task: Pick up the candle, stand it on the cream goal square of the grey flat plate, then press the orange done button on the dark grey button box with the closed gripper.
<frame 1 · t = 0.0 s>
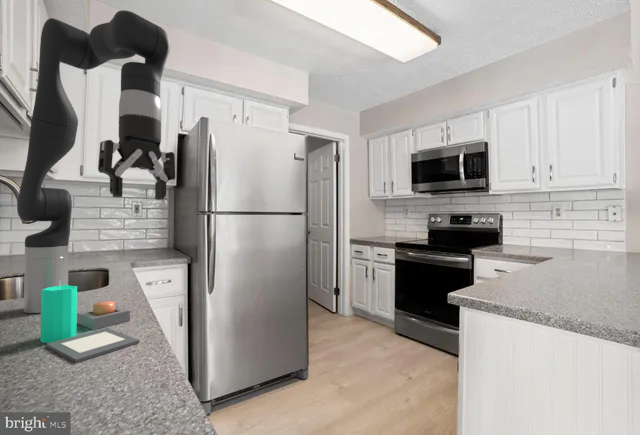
hand: (139, 198, 66), 29 cm above the countertop, fingers open, 8 cm apart
candle: (59, 338, 68), on the countertop
grey flat plate: (93, 344, 65), on the countertop
done button: (103, 309, 79), point 3 cm above the countertop, slide at 0.0 cm
button box: (103, 322, 78), on the countertop
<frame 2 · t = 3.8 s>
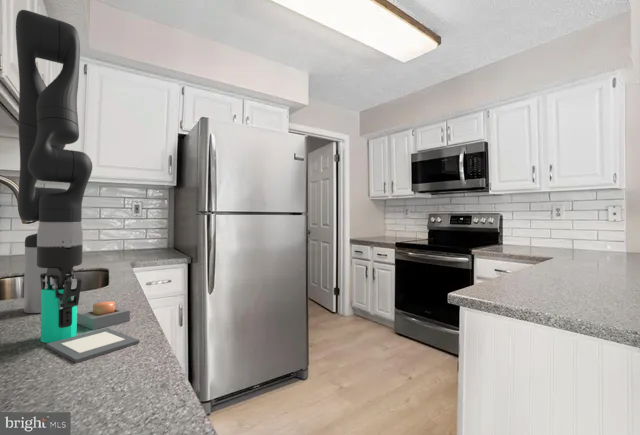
hand: (59, 323, 68), 3 cm above the countertop, fingers closed on candle, 4 cm apart
candle: (59, 338, 68), on the countertop, touching gripper
everything else where it was.
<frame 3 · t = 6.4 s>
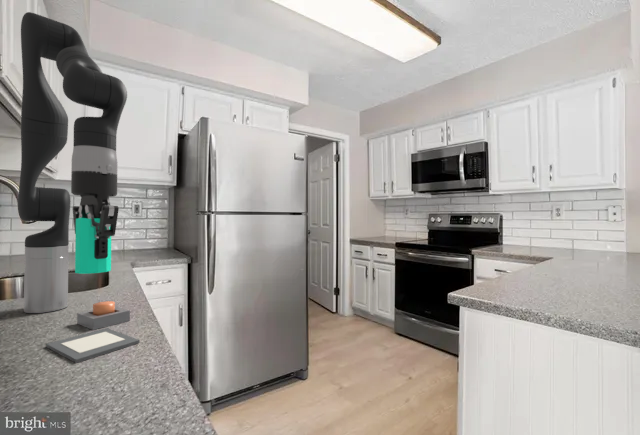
hand: (94, 257, 65), 17 cm above the countertop, fingers closed on candle, 4 cm apart
candle: (93, 272, 65), point 14 cm above the countertop, touching gripper
everything else where it was.
when the fingers open (5 cm above the countertop, at t = 9.1 s): candle drops 1 cm, resting on grey flat plate.
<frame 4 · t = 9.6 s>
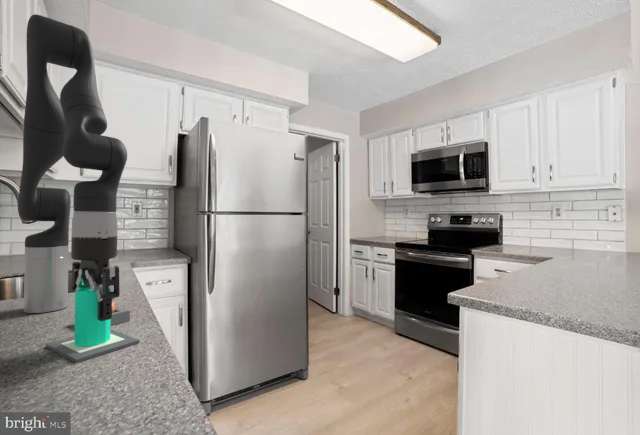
hand: (94, 316, 65), 6 cm above the countertop, fingers open, 8 cm apart
candle: (92, 342, 65), point 1 cm above the countertop, touching grey flat plate
everything else where it was.
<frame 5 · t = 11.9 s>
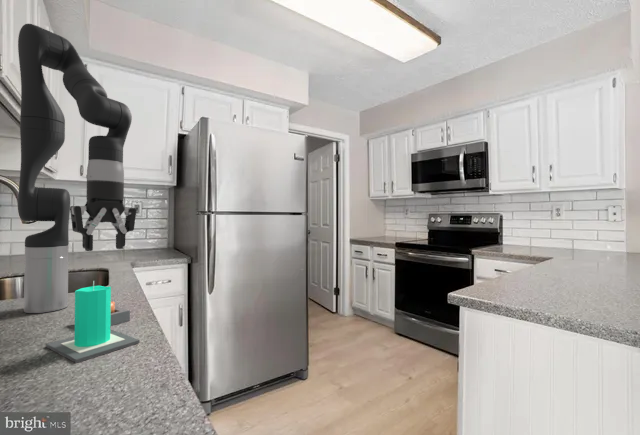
hand: (104, 249, 79), 18 cm above the countertop, fingers open, 6 cm apart
nothing on the countertop moved.
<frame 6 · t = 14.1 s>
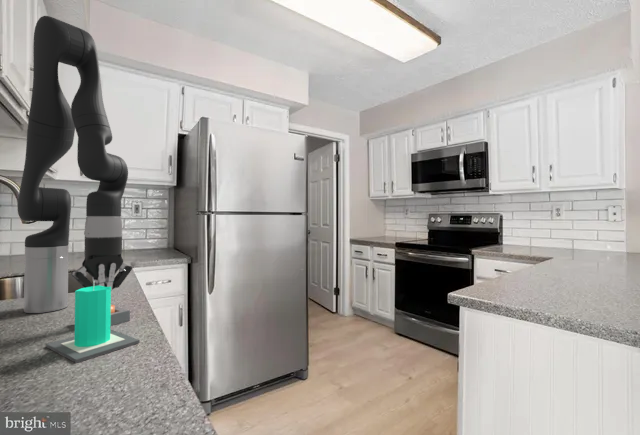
hand: (103, 307, 78), 4 cm above the countertop, fingers closed
done button: (103, 313, 79), point 2 cm above the countertop, slide at 0.8 cm, touching gripper
everything else where it was.
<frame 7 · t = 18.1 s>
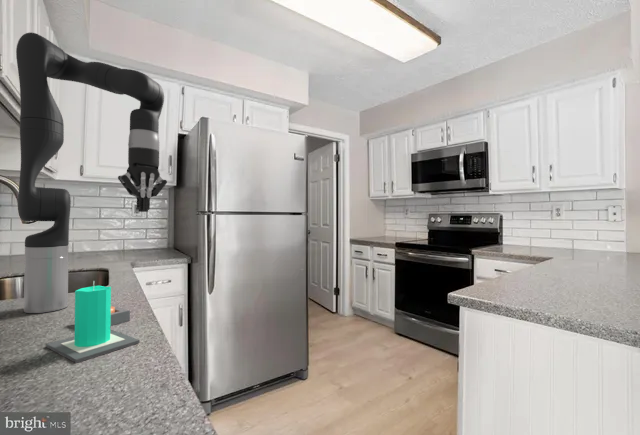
hand: (143, 211, 90), 27 cm above the countertop, fingers closed
done button: (103, 314, 79), point 2 cm above the countertop, slide at 1.2 cm
everything else where it was.
at the end: candle 0.2 cm off-centre on the grey flat plate, point 0.5 cm above the grey flat plate's base; candle tilted 0°; done button slide at 1.2 cm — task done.
